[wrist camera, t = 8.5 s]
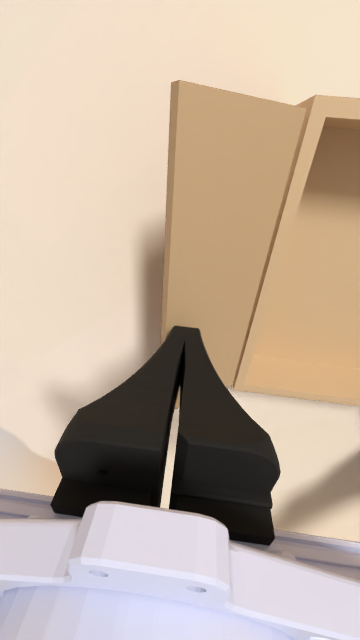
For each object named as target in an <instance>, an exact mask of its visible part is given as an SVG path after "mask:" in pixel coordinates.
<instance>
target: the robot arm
mask: <svg viewBox="0 0 360 640" xmlns="http://www.w3.org/2000/svg"><path fill="white" fill-rule="evenodd" d="M179 387H180V409H179V427H178V436H177V444H176V453H175V461H174V470H173V478H172V487H171V496H170V504H169V509H164V508H160V503H161V496H162V488H163V481H164V473H165V466H166V458H167V451H168V444H169V436H170V429H171V423H172V417H173V413H174V408H175V404H176V400H177V396H178V391H179ZM54 452H55V458H56V461H57V464H58V466H59V469H60V472H61V475H62V480H61V482H60V484H59V487H58V488H57V491H56V493H55V495H54V497H53V496H46V495H39V494H33V493H26V492H20V491H13V490H6V489H0V640H360V542H354V541H347V540H341V539H334V538H327V537H321V536H314V535H307V534H301V533H294V532H287V531H281V530H274V529H273V523H272V517H271V511H270V509H271V508H272V499H271V493H270V492H271V491H272V489H273V487H274V485H275V484H276V482H277V480H278V478H279V476H280V466H279V461H278V458H277V454H276V452H275V449H274V446H273V443H272V441H271V438H270V436H269V434H268V433H267V432H265V431H264V430H263V429H262V428H261V427H260V426H259V425H258V424H257V423H256V422H255V421H254V420H253V419H252V418H251V417H250V416H249V415H248V414H247V413H246V412H245V411H244V410H243V409H242V407H241V406H240V405H239V404H238V402H237V401H236V400H235V399H234V397H233V396H232V395H231V394H230V392H229V391H228V389H227V388H226V387H225V385H224V384H223V382H222V380H221V379H220V377H219V376H218V374H217V372H216V370H215V368H214V367H213V365H212V363H211V361H210V358H209V356H208V354H207V351H206V349H205V346H204V343H203V340H202V337H201V332H200V330H199V328H192V327H183V326H174V327H173V328H172V330H171V332H170V334H169V335H168V337H167V338H166V340H165V341H164V343H163V344H162V345H161V346H160V348H159V349H158V350H157V351H156V353H155V354H154V355H153V356H152V357H151V358H150V359H149V360H148V361H147V362H146V363H145V364H144V365H143V366H142V367H141V368H140V369H139V370H138V371H137V372H136V373H135V374H134V375H132V376H131V377H130V378H129V379H127V380H126V381H125V382H124V383H122V384H121V385H120V386H118V387H117V388H115V389H114V390H112V391H111V392H109V393H108V394H106V395H105V396H103V397H101V398H100V399H98V400H96V401H94V402H92V403H90V404H89V405H87V406H85V407H83V408H81V409H79V410H78V411H77V413H76V414H75V416H74V417H73V418H72V420H71V421H70V423H69V424H68V426H67V427H66V429H65V431H64V433H63V435H62V437H61V439H60V441H59V443H58V445H57V447H56V449H55V451H54Z"/></svg>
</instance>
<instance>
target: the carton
mask: <svg viewBox="0 0 360 640" xmlns="http://www.w3.org/2000/svg"><path fill="white" fill-rule="evenodd" d="M296 106H298V107H302V108H306V112H305V115H304V119H303V123H302V127H301V130H300V134H299V138H298V142H297V145H296V149H295V153H294V156H293V160H292V164H291V168H290V171H289V175H288V179H287V183H286V186H285V190H284V194H283V197H282V201H281V205H280V209H279V212H278V216H277V220H276V224H275V227H274V231H273V235H272V238H271V242H270V246H269V250H268V253H267V257H266V261H265V264H264V268H263V272H262V276H261V279H260V283H259V287H258V291H257V294H256V298H255V302H254V305H253V309H252V313H251V317H250V320H249V324H248V328H247V332H246V335H245V339H244V343H243V346H242V350H241V354H240V358H239V361H238V365H237V369H236V373H235V376H234V380H233V388H234V390H238V391H246V392H254V393H262V394H270V395H278V396H285V397H293V398H301V399H309V400H317V401H325V402H333V403H341V404H348V405H356V406H360V98H348V97H335V96H323V95H315V96H313V97H311V98H309V99H307V100H305V101H303V102H302V103H300V104H298V105H296Z"/></svg>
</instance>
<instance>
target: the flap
mask: <svg viewBox="0 0 360 640" xmlns="http://www.w3.org/2000/svg"><path fill="white" fill-rule="evenodd" d="M305 112H306V108H302V107H298V106H293V105H289V104H284V103H280V102H275V101H271V100H266V99H262V98H257V97H253V96H248V95H244V94H239V93H235V92H230V91H226V90H221V89H217V88H213V87H208V86H204V85H199V84H195V83H190V82H186V81H181V80H178V81H175V82H171V100H170V124H169V149H168V173H167V198H166V222H165V247H164V271H163V296H162V320H161V345H162V344H163V343H164V341H165V340H166V338H167V337H168V335H169V334H170V332H171V330H172V328H173V327H174V326H183V327H192V328H199V330H200V332H201V337H202V340H203V343H204V346H205V349H206V351H207V354H208V356H209V358H210V361H211V363H212V365H213V367H214V368H215V370H216V372H217V374H218V376H219V377H220V379H221V380H222V382H223V384H224V385H225V387H226V388H228V387H230V386H232V384H233V380H234V376H235V373H236V369H237V365H238V361H239V358H240V354H241V350H242V346H243V343H244V339H245V335H246V332H247V328H248V324H249V320H250V317H251V313H252V309H253V305H254V302H255V298H256V294H257V291H258V287H259V283H260V279H261V276H262V272H263V268H264V264H265V261H266V257H267V253H268V250H269V246H270V242H271V238H272V235H273V231H274V227H275V224H276V220H277V216H278V212H279V209H280V205H281V201H282V197H283V194H284V190H285V186H286V183H287V179H288V175H289V171H290V168H291V164H292V160H293V156H294V153H295V149H296V145H297V142H298V138H299V134H300V130H301V127H302V123H303V119H304V115H305ZM161 345H160V346H161ZM177 408H180V387H179V391H178V396H177V400H176V404H175V408H174V410H175V409H177Z"/></svg>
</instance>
